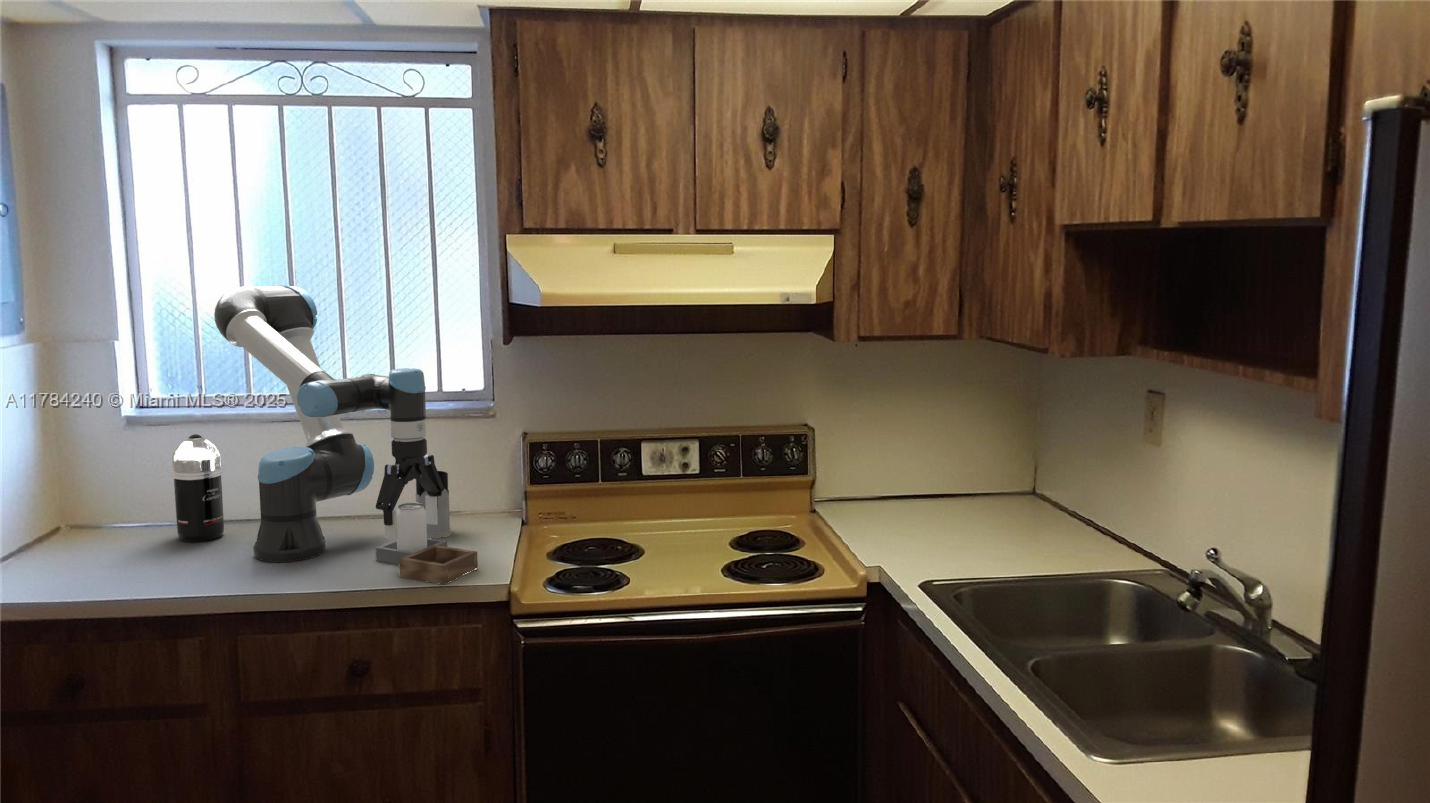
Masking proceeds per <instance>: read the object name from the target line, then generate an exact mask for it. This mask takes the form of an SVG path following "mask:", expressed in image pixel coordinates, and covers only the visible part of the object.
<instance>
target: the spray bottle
mask: <svg viewBox="0 0 1430 803" xmlns="http://www.w3.org/2000/svg"><path fill="white" fill-rule="evenodd" d="M171 460H172V474H173V475H172V478H173V485H174V488H173V489H174V499H175V501H174V502H175V515H176V516H175V517H176V532H177V537H178V539H180V540H181V541H184V542H189V543H197V542H198V543H199V542H207V541H212V540H215V539H217V538H220V537H222V536H223V534H224V533H225V520H224V518H225V517H224V503H223V502H224V501H223V486H222V484H223V483H222V474H223V472H222V466H221V462H222V461H221V454H220V451H219V449H218V448H217V446H216V445H215V444H214V443H212V442H211V441H209V440H208V439H206V438H205V437H203V436H202V435H200V434H198V433H195V434H194V433H193V434H190V436H188V437H187V438H186V439H185V440H184V441H183V442H181V443H180V444H179V445H178V446H177V447H176V449H175V451H174V452H173V454H172V459H171Z"/></svg>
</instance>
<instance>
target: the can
mask: <svg viewBox="0 0 1430 803" xmlns="http://www.w3.org/2000/svg"><path fill="white" fill-rule="evenodd" d="M397 508H398V509H396V510H397V527H398V539H397V550H403V551H410V552H417V551H420V550H422V549H425V548H427V524H426V510H425V509H424V504H421V503H416V502H406V503H401V504H398V506H397Z"/></svg>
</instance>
